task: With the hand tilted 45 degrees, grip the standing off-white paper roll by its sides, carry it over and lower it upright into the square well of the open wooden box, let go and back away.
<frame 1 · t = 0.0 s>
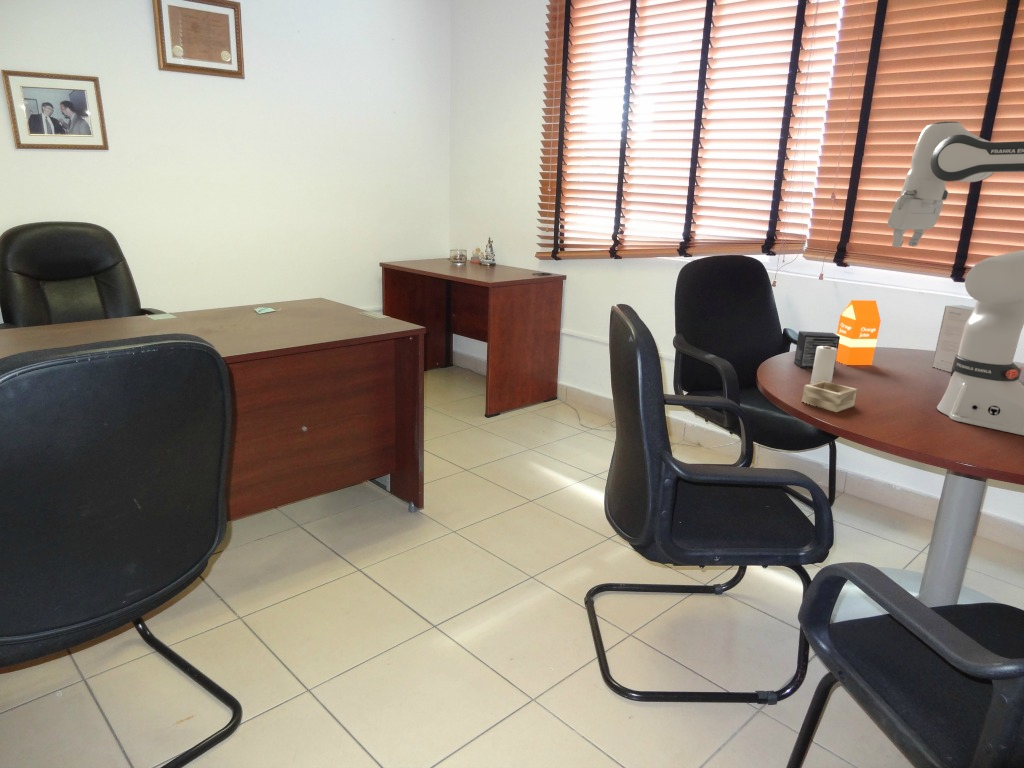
hand: (904, 246, 169), 39 cm above the table, tool pointing down, fingers open, 8 cm apart
open wooden box: (827, 404, 167), on the table
orange juice: (851, 363, 210), on the table
paper roll: (819, 391, 177), on the table
small box: (813, 367, 204), on the table
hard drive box: (962, 373, 203), on the table
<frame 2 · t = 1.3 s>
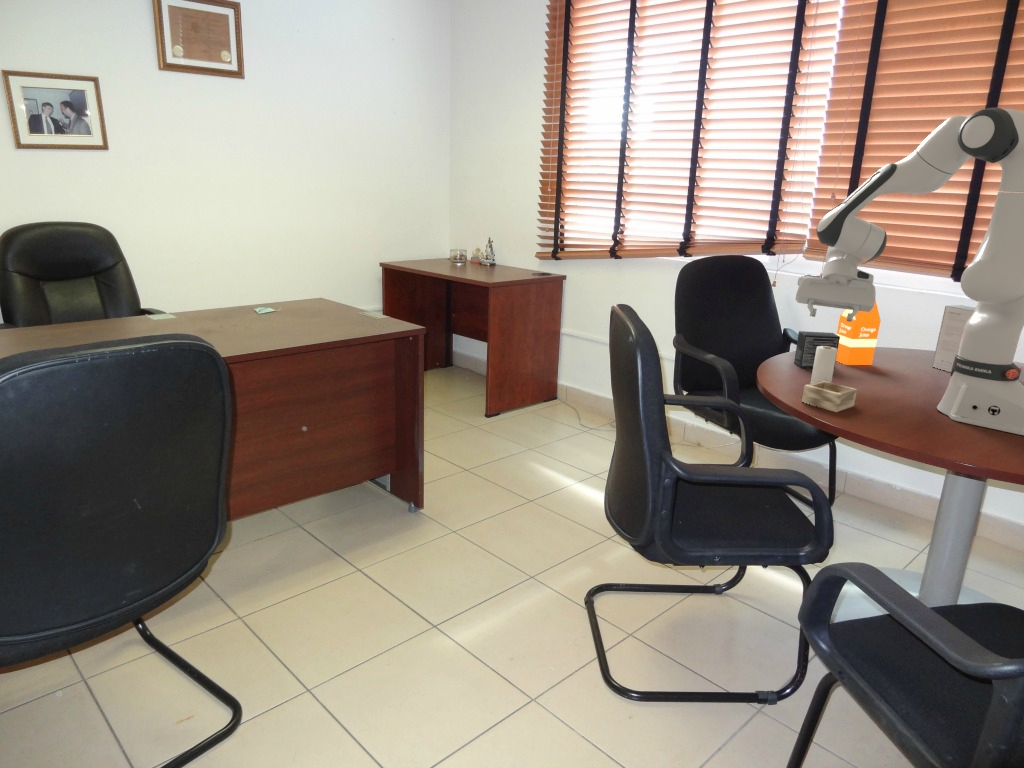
hand: (830, 318, 183), 18 cm above the table, tool tilted 45°, fingers open, 8 cm apart
nothing on the table moved.
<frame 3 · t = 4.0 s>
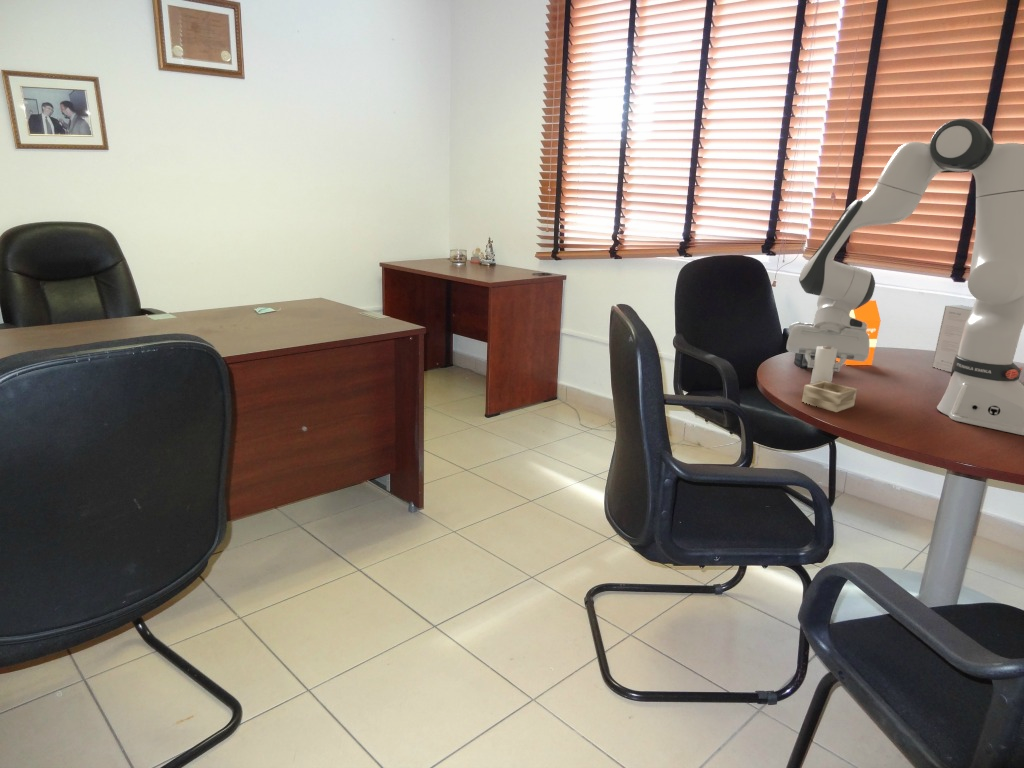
hand: (823, 368, 175), 7 cm above the table, tool tilted 45°, fingers closed on paper roll, 5 cm apart
paper roll: (819, 391, 177), on the table, touching gripper
everything else where it was.
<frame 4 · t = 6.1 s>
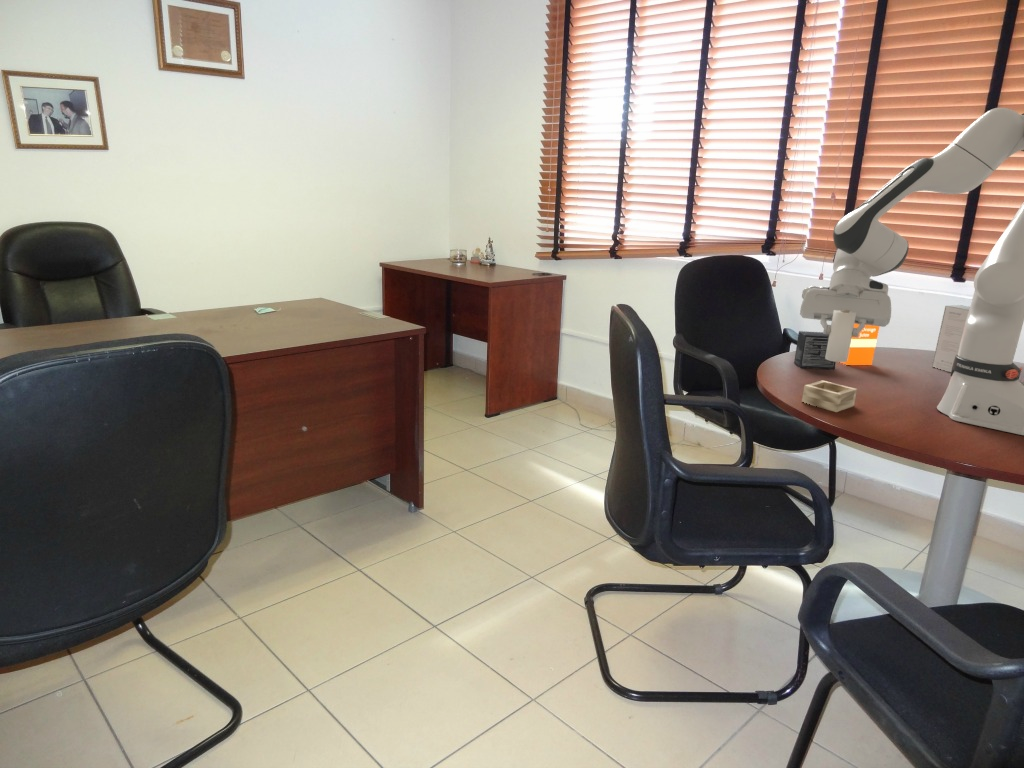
hand: (840, 334, 161), 18 cm above the table, tool tilted 45°, fingers closed on paper roll, 5 cm apart
paper roll: (836, 359, 164), point 12 cm above the table, touching gripper
everything else where it was.
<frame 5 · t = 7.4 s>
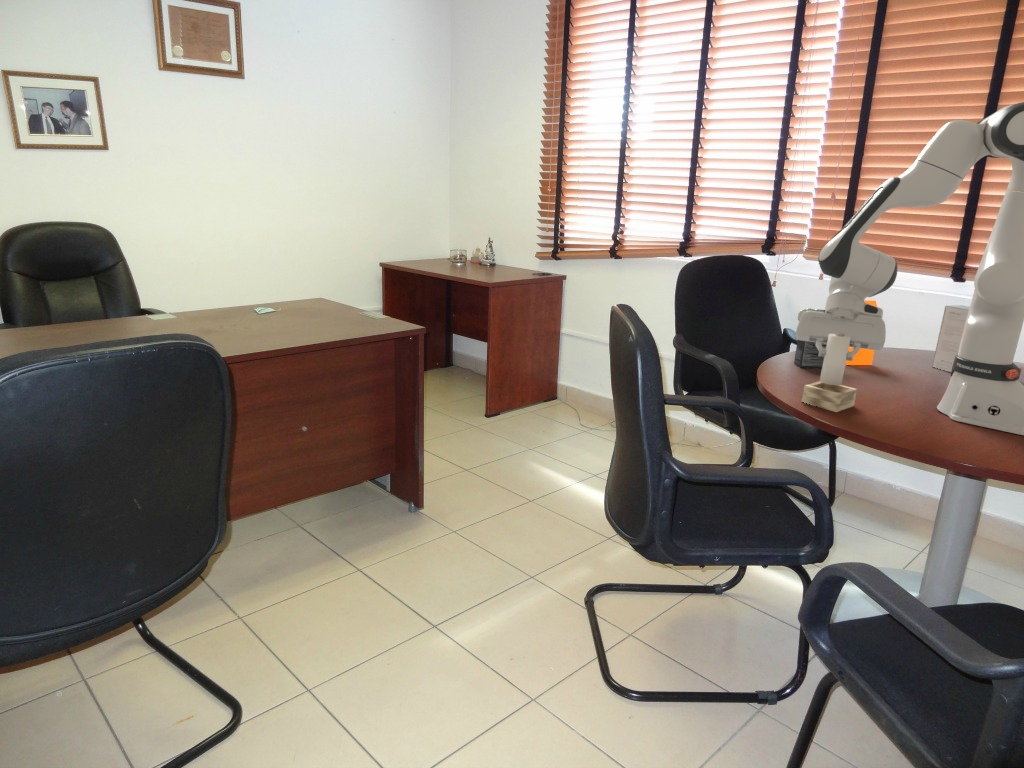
hand: (835, 357, 163), 12 cm above the table, tool tilted 45°, fingers closed on paper roll, 5 cm apart
paper roll: (830, 382, 165), point 6 cm above the table, touching gripper
everything else where it was.
when the fingers open (10 cm above the table, at t = 8.4 s): paper roll drops 1 cm, resting on open wooden box.
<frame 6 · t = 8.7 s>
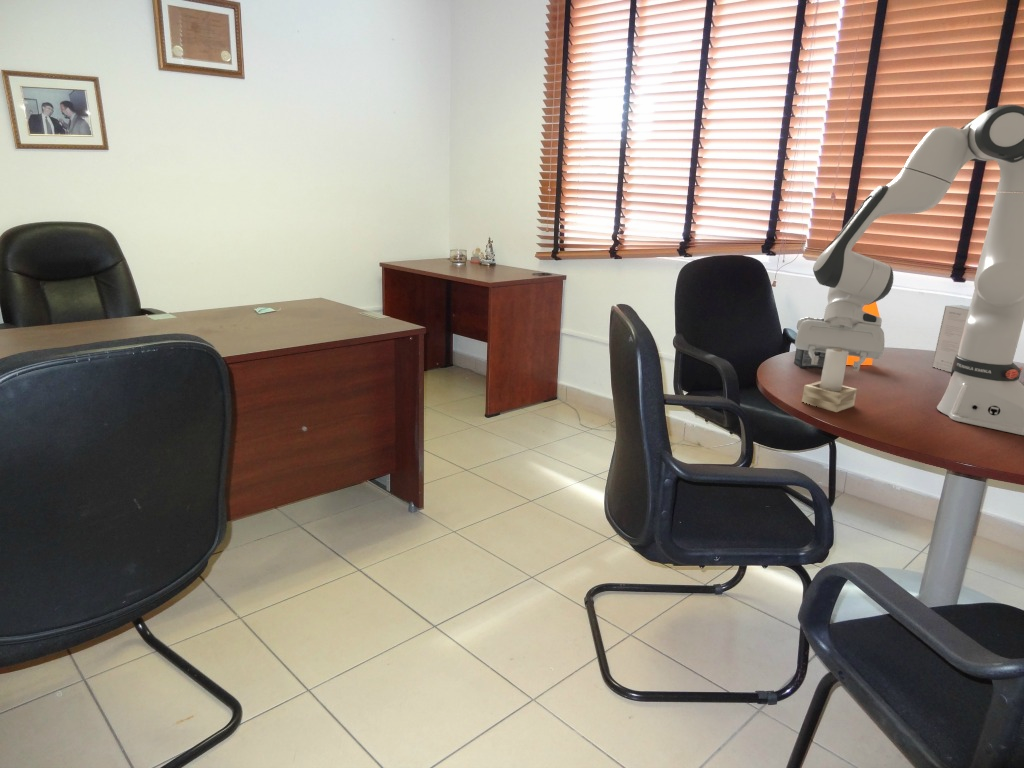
hand: (834, 366, 163), 10 cm above the table, tool tilted 45°, fingers open, 8 cm apart
paper roll: (828, 396, 166), point 2 cm above the table, touching open wooden box
everything else where it was.
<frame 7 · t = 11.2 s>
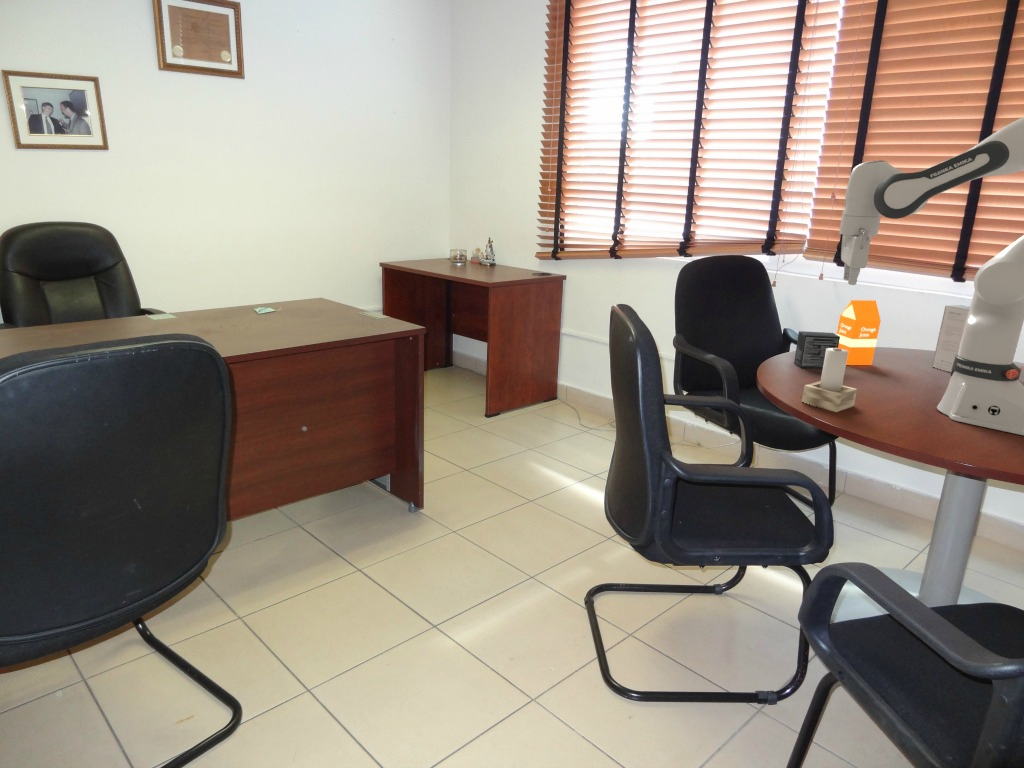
hand: (849, 282, 171), 29 cm above the table, tool pointing down, fingers open, 8 cm apart
nothing on the table moved.
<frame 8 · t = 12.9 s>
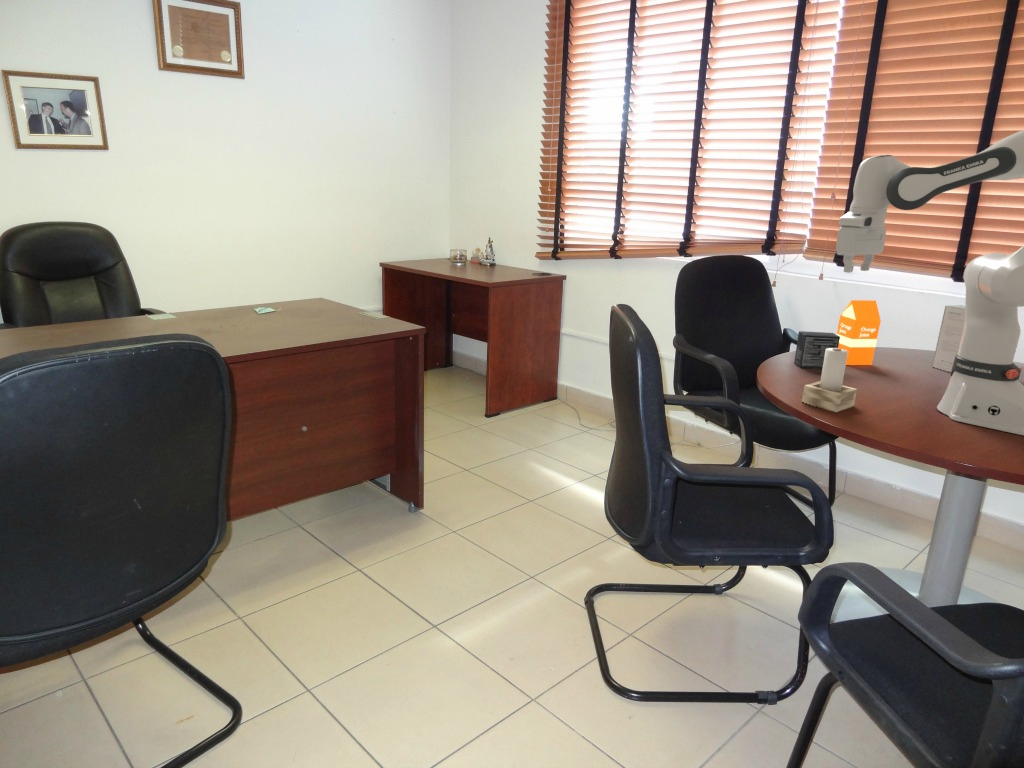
hand: (856, 271, 180), 31 cm above the table, tool pointing down, fingers open, 8 cm apart
nothing on the table moved.
at the end: paper roll 0.0 cm off-centre on the open wooden box, point 2.0 cm above the open wooden box's base; paper roll tilted 1°; the gripper is holding nothing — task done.
